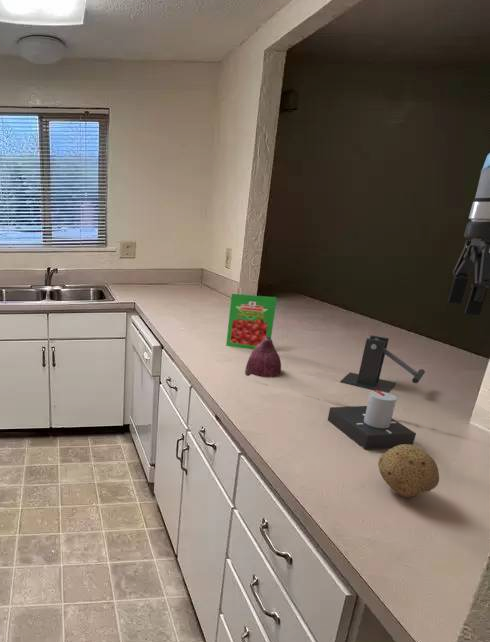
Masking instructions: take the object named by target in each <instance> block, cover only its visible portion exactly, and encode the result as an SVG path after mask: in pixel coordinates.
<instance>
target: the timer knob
mask: <svg viewBox="0 0 490 642" xmlns="http://www.w3.org/2000/svg"><path fill="white" fill-rule="evenodd" d="M397 399H398V398H397V396H396V395H394V394H392V393H390V392H388V393H386V392H381V391H378V390H375V391H374V390H372V391H371V392H369V397H368V400H367V404H366V406H367V409H366V413H365V417H364V422H365V423H366V424H367V425H369V426H372V427H375V428H381V429H385V428H389V426H390V423H391V419H392V418H393V415H394V410H395V407H396V403H397Z"/></svg>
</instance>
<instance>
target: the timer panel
mask: <svg viewBox="0 0 490 642" xmlns="http://www.w3.org/2000/svg"><path fill="white" fill-rule="evenodd" d="M366 409H367V405H356V406H336V407H335V406H331V407H329V411H328V415H327V421H328V422H330V424H332V425H333V426H334V427H336V428H337V429H338V430H339V431H341V432H342V433H343V434H344V435H346V436H347V437H348V438H349V439H351V440H352V441H354V443H355V444H357V445H359V447H361V446H362V447H363V448H362V447H361V448H362V449H363V450H381V449H382V450H384V449H391V448H393V447H395V446H398V445H402V444H409V445H414V442H415V439H416V435H417V433H416V432H415V431H413V430H411V428H408V426H405V425H404V424H402V423H401V422H399V421H397V420H396V419H394V418H393V417H392V419H391V423H390V426H389V428H385V429H381V428H375V427H372V426H369V425H367V424H366V423H365V422H364V417H365V413H366Z"/></svg>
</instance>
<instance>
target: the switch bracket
mask: <svg viewBox="0 0 490 642" xmlns="http://www.w3.org/2000/svg"><path fill="white" fill-rule="evenodd" d="M375 338H378V339H379V340H375ZM389 341H390V339H389V337H384V336H377V335H373V334H371V335H370V336H369V338H368V337H367V338H366V339H365V344H364V348H363V352H362V358H361V362H360V365H359V366H360V367H359V370H358V373H354V372H348V373H347V374H346V375H345V376H343V378H341V379H340V381H339V383H340V384H346V385H349V386H353V387H357V388H361V389H366V390H368V391H369V390H370V391H375V390H378V391H381V392H386V393H390V392H391V390H392V389H393V388H394V386H395V385H396V382H395V381H391V380H386V379H382V378H380V377H381V374H382V370H383V369H382V368H383V364H384V361H385V357H386V354H384V353H383V350H384V348H386V349H387V350H388V343H389Z"/></svg>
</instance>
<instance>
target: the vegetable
mask: <svg viewBox="0 0 490 642" xmlns="http://www.w3.org/2000/svg"><path fill="white" fill-rule="evenodd" d="M281 373H282V362H281V358H280V355H279V354H278V351H277V350H276V348H275V345H274V342H273V340H272V337H271V338H270V337H268V336H267V337H266V338H265V339H264V340H263V341H262V342H261V343H259V344H258V345H257V346H256V347H255V348H254V349H252V351H251V353H250V355H249V357H248V360H247V363H246V365H245V371H244V374H245V375H246V376H247V377H249V376H251V375H253V376H256V377H261V378H274V377H275V378H276V377H278V376H280V375H281Z"/></svg>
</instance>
